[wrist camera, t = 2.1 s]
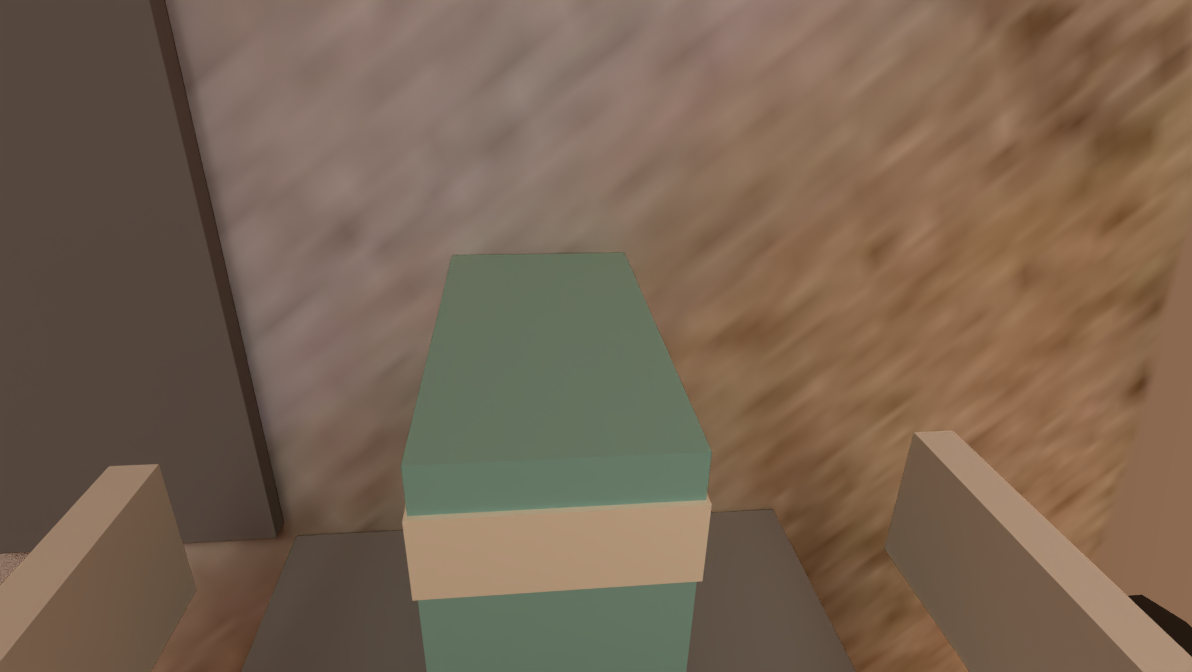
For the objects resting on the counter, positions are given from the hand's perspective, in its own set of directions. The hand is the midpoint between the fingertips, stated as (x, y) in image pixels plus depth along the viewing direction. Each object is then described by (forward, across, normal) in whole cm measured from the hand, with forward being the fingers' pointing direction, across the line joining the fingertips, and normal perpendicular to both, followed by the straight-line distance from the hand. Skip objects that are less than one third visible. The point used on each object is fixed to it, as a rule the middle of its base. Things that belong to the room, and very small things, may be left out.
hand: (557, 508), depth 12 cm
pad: (+5, -11, +2) cm, 12 cm away
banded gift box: (+6, 0, -3) cm, 6 cm away
